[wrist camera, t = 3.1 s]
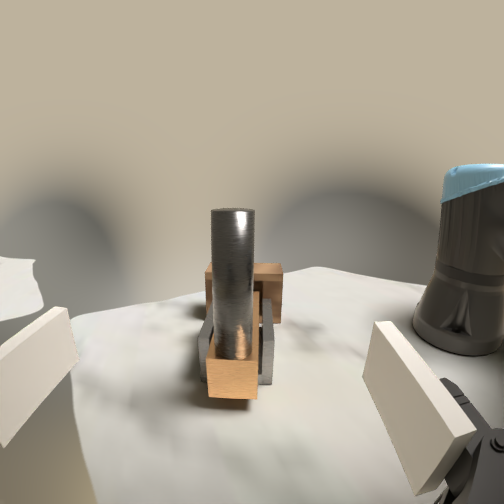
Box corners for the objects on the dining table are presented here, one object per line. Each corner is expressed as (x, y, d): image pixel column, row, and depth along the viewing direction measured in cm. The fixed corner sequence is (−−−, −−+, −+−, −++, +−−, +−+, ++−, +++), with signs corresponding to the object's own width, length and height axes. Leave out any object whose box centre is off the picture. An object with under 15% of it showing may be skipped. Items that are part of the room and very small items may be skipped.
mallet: (258, 321, 37) (261, 199, 34) (257, 399, 23) (262, 212, 19) (226, 320, 37) (225, 198, 34) (208, 396, 23) (200, 212, 19)
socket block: (278, 308, 45) (280, 263, 43) (280, 323, 40) (283, 273, 38) (212, 306, 45) (211, 261, 44) (206, 320, 40) (204, 272, 39)
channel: (269, 335, 37) (270, 298, 36) (271, 384, 27) (274, 340, 26) (214, 333, 37) (213, 297, 36) (201, 381, 27) (197, 338, 26)
